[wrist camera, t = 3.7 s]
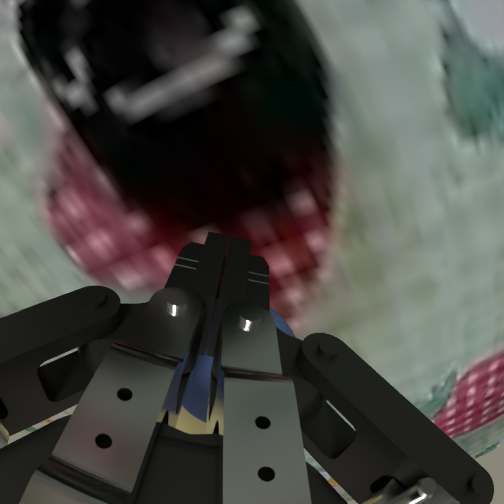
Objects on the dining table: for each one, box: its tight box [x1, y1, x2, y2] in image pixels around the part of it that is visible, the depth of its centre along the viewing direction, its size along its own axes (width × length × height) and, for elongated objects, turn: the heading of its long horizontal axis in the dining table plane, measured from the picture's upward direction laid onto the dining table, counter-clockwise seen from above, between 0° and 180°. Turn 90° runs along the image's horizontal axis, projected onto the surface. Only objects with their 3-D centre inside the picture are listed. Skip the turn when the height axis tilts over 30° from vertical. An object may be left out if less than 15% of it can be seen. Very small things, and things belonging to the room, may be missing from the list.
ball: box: [182, 299, 295, 423], centre depth 13 cm, size 6×6×6 cm
